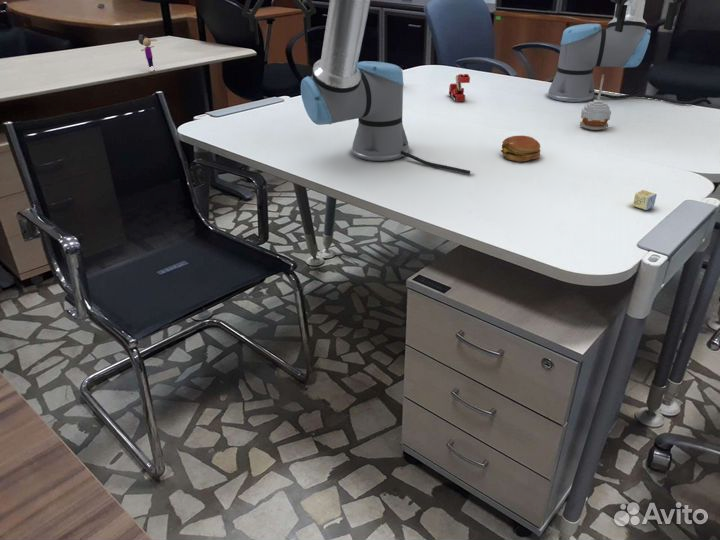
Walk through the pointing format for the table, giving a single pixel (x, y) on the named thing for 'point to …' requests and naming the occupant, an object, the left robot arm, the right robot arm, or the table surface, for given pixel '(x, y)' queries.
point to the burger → (520, 148)
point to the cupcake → (596, 113)
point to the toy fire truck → (458, 87)
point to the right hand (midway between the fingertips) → (642, 30)
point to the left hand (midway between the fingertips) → (282, 43)
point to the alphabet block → (644, 200)
